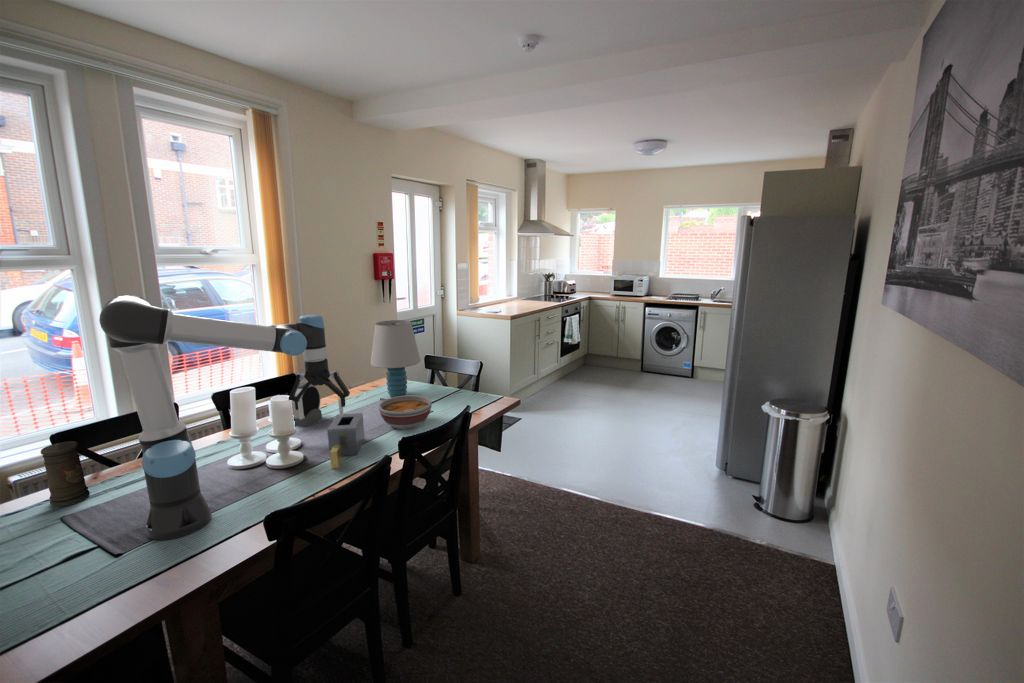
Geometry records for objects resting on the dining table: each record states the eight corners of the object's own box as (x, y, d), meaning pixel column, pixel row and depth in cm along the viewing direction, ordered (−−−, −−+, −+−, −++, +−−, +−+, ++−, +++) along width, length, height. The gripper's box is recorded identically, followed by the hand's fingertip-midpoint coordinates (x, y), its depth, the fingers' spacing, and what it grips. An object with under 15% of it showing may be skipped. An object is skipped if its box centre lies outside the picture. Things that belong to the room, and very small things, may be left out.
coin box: (364, 438, 192) (362, 413, 190) (357, 455, 176) (355, 427, 174) (339, 439, 191) (337, 414, 188) (329, 457, 175) (327, 429, 173)
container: (43, 509, 141) (30, 454, 138) (62, 494, 150) (51, 442, 146) (79, 504, 143) (67, 450, 140) (96, 490, 152) (85, 438, 148)
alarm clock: (307, 428, 203) (303, 388, 199) (286, 427, 204) (281, 387, 201) (327, 415, 218) (324, 378, 215) (307, 414, 220) (303, 377, 216)
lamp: (407, 385, 265) (404, 317, 257) (430, 396, 246) (427, 322, 238) (365, 394, 249) (359, 322, 241) (385, 406, 230) (380, 328, 222)
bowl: (437, 429, 200) (436, 407, 198) (383, 438, 192) (381, 415, 190) (426, 412, 221) (426, 392, 219) (377, 419, 213) (375, 398, 211)
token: (338, 468, 166) (336, 451, 165) (331, 468, 166) (329, 451, 164) (342, 460, 172) (340, 444, 171) (335, 461, 172) (333, 444, 170)
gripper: (354, 354, 168) (359, 410, 172) (281, 358, 164) (288, 415, 168) (351, 359, 160) (356, 417, 165) (274, 363, 156) (281, 423, 161)
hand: (321, 416), depth 166 cm, fingers open, 13 cm apart
